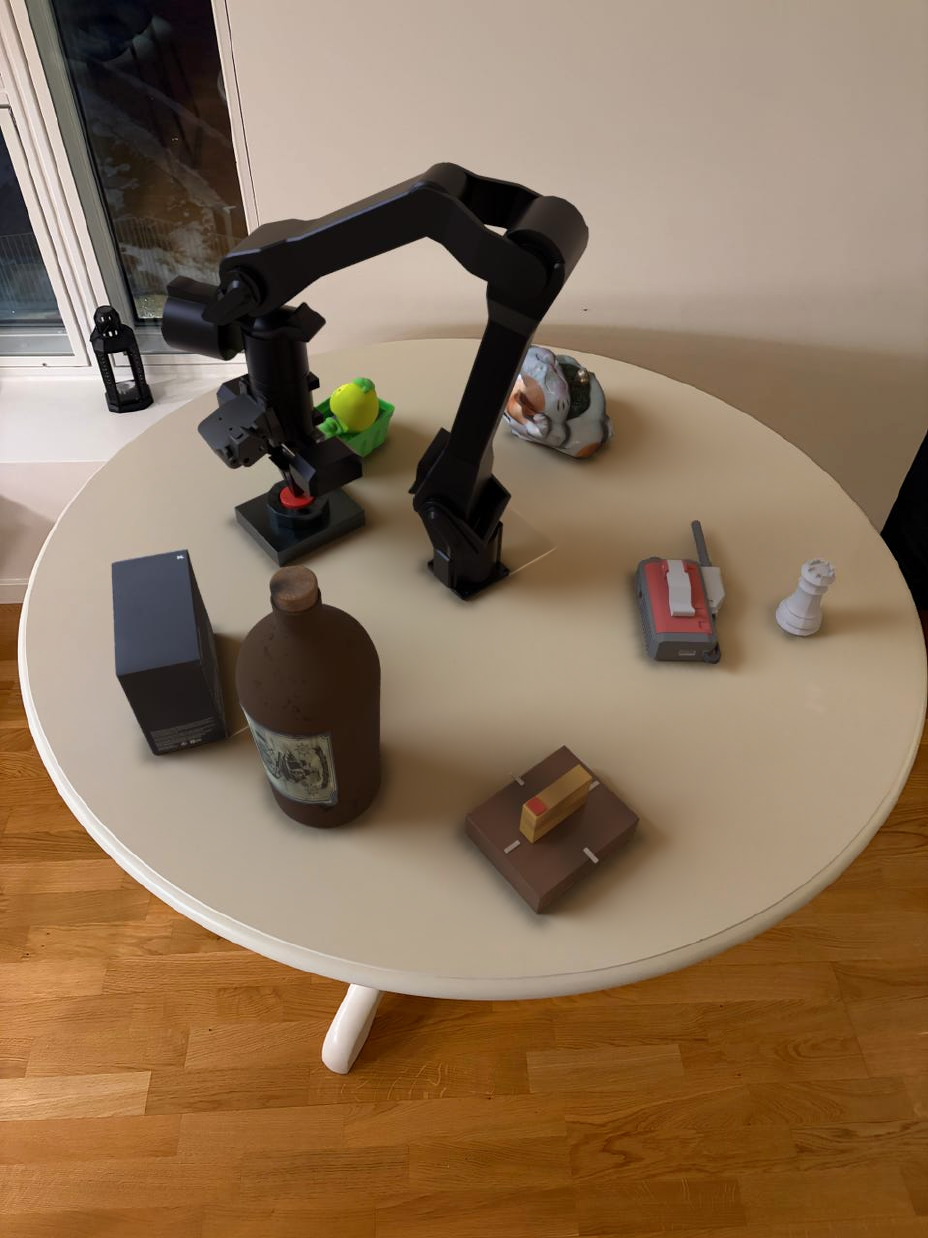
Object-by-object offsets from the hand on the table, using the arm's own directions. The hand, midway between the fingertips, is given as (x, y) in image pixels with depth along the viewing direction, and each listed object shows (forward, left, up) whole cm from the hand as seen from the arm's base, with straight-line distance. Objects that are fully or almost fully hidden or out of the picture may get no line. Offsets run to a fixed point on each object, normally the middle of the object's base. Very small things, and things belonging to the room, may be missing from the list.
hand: (297, 494), depth 96 cm
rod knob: (+4, +45, -1) cm, 45 cm away
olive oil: (+16, +29, -4) cm, 33 cm away
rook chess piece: (-32, +43, -4) cm, 54 cm away
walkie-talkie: (-25, +33, -4) cm, 42 cm away
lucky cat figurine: (-33, +5, -4) cm, 34 cm away
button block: (0, 0, -4) cm, 4 cm away
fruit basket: (-11, -7, -4) cm, 14 cm away
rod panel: (+4, +45, -4) cm, 45 cm away
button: (0, 0, -2) cm, 2 cm away
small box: (+21, +13, -4) cm, 25 cm away
